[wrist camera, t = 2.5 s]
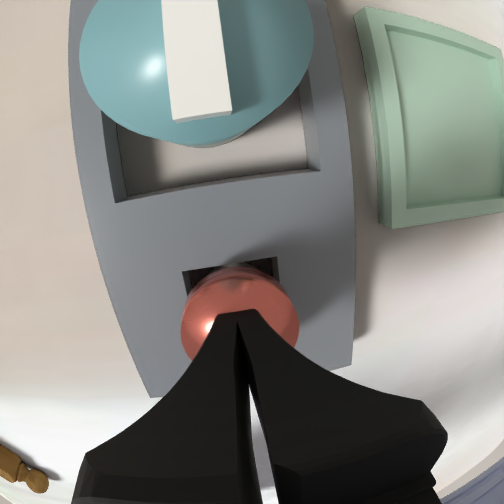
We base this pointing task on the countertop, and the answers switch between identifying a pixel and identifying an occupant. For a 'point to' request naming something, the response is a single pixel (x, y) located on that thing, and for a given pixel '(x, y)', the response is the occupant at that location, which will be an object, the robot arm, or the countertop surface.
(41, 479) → the tap handle
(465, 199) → the tray
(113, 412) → the countertop surface
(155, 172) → the countertop surface
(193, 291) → the plunger
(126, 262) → the housing
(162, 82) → the rotary knob
